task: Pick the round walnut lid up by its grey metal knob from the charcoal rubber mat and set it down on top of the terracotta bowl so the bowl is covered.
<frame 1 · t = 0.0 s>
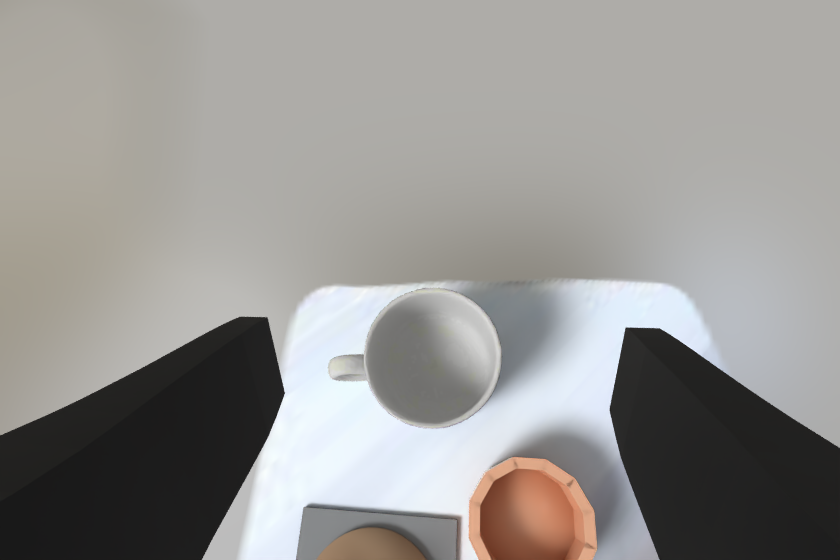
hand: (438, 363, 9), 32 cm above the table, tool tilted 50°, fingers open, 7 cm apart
teacup: (421, 371, 42), on the table
bowl: (525, 518, 36), on the table
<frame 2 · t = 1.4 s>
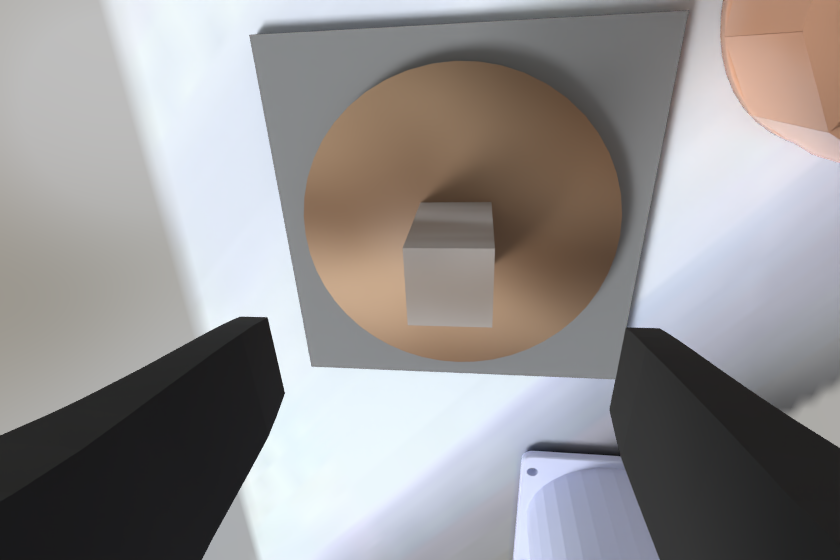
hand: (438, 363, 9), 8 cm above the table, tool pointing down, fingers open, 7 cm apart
mat: (457, 225, 16), on the table
lid: (456, 229, 16), resting on mat
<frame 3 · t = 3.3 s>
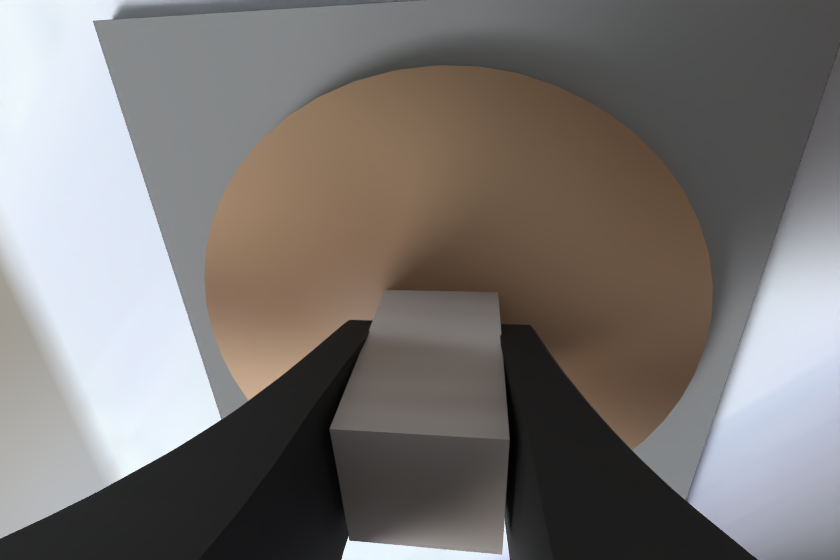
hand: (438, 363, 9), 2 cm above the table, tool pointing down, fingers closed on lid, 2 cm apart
mat: (445, 314, 11), on the table
lid: (443, 323, 10), resting on mat, touching gripper
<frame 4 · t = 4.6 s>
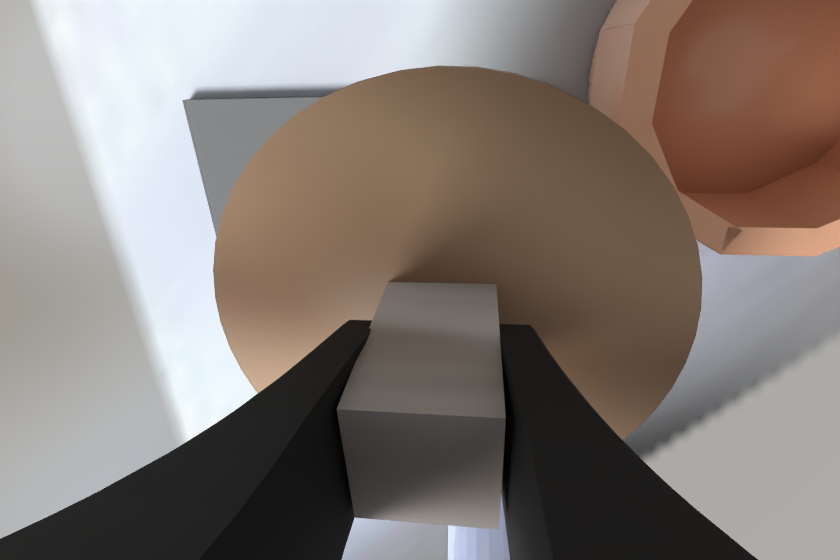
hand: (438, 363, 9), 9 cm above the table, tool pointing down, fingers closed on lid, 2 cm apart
mat: (376, 265, 18), on the table
bowl: (739, 70, 14), on the table
lid: (444, 315, 11), point 7 cm above the table, touching gripper
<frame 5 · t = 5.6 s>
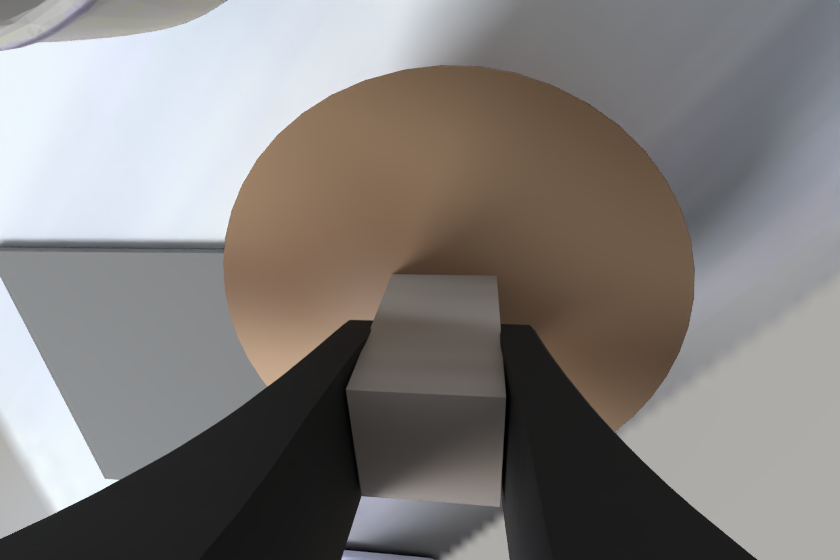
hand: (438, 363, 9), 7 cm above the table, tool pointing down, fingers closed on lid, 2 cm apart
mat: (189, 381, 20), on the table
lid: (446, 307, 11), point 5 cm above the table, touching gripper
when the fingers open (7 cm above the table, at t = 6.3 s): lid stays where it is, resting on bowl.
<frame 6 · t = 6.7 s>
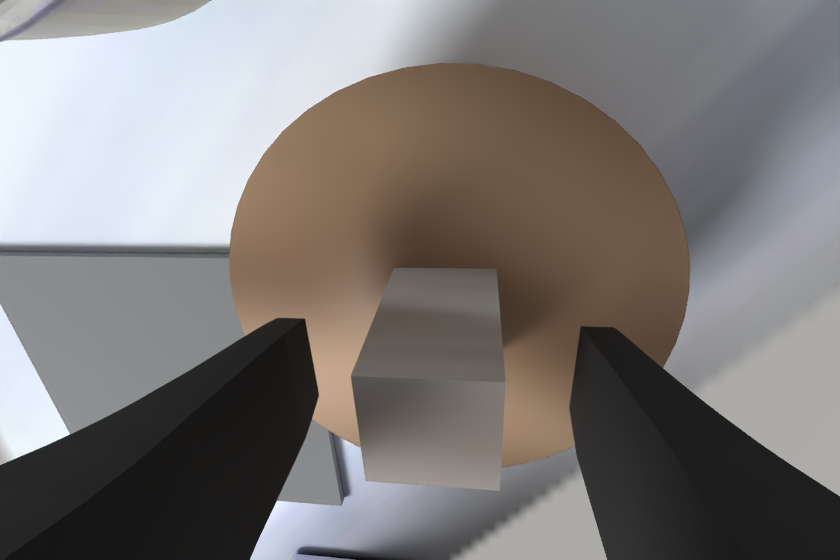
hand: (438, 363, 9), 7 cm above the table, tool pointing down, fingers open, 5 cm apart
mat: (183, 388, 20), on the table
lid: (447, 300, 11), point 4 cm above the table, touching bowl
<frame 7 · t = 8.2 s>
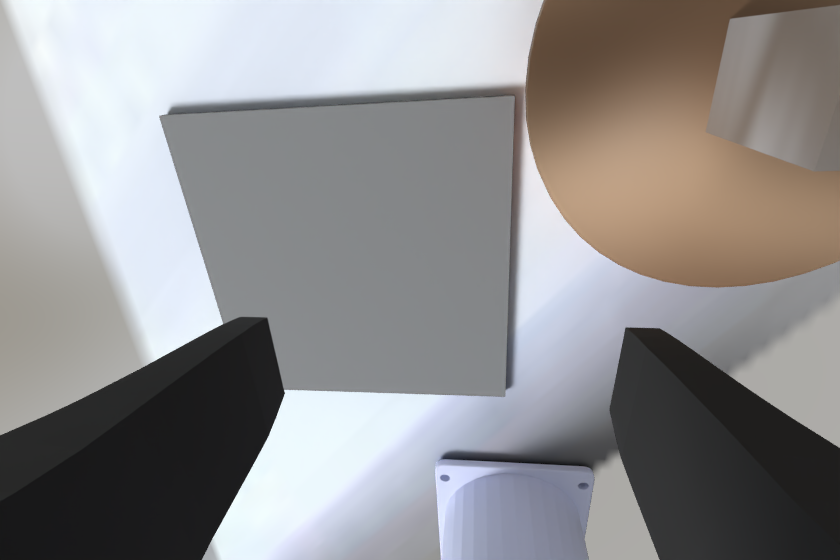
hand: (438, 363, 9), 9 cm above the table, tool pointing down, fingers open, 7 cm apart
mat: (353, 267, 19), on the table
lid: (759, 73, 11), point 4 cm above the table, touching bowl
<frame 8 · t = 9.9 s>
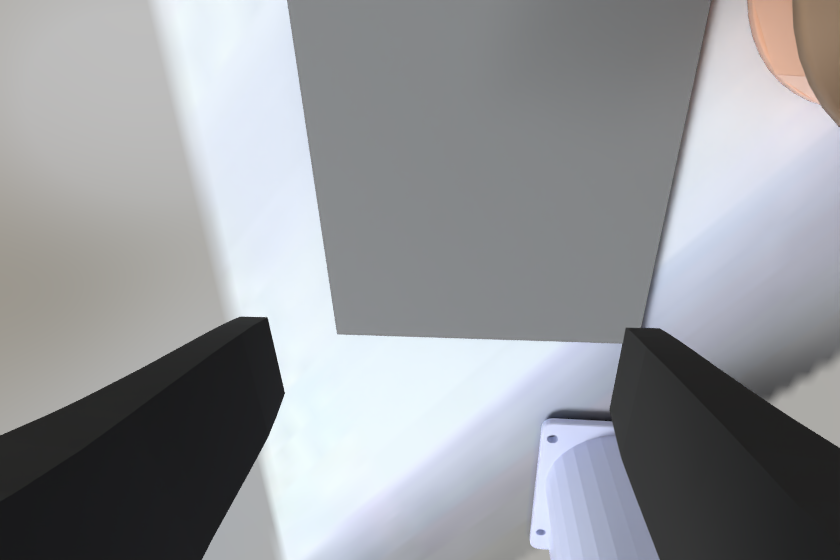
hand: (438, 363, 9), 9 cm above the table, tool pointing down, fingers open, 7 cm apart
mat: (484, 190, 17), on the table
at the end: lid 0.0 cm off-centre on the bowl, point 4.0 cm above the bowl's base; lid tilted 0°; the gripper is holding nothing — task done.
